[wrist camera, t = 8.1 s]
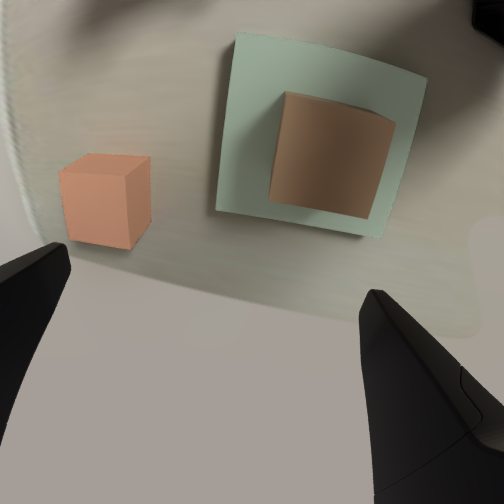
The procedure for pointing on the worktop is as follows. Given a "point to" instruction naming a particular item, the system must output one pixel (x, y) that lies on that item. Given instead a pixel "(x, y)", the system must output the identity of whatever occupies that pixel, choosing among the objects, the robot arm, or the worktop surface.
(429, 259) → the worktop surface
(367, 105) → the base plate
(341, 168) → the walnut brick
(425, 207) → the worktop surface
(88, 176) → the terracotta brick
